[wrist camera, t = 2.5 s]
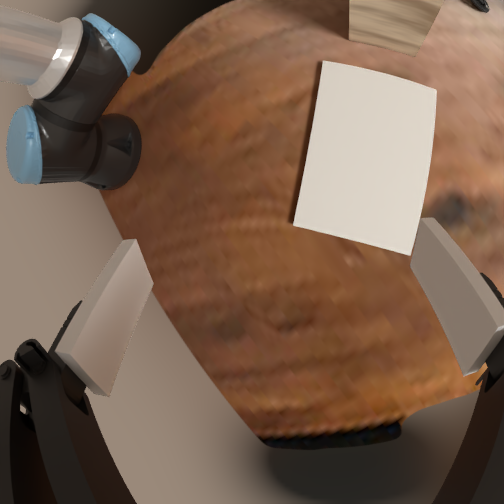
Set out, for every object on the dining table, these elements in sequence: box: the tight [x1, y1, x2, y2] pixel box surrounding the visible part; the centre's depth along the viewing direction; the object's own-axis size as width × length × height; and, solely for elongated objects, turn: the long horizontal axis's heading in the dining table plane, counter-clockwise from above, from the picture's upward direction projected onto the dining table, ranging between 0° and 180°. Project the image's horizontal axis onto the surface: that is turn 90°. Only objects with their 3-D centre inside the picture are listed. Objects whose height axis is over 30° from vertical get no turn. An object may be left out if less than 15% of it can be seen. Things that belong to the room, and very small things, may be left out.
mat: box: [293, 61, 437, 256], centre depth 36 cm, size 26×18×1 cm
